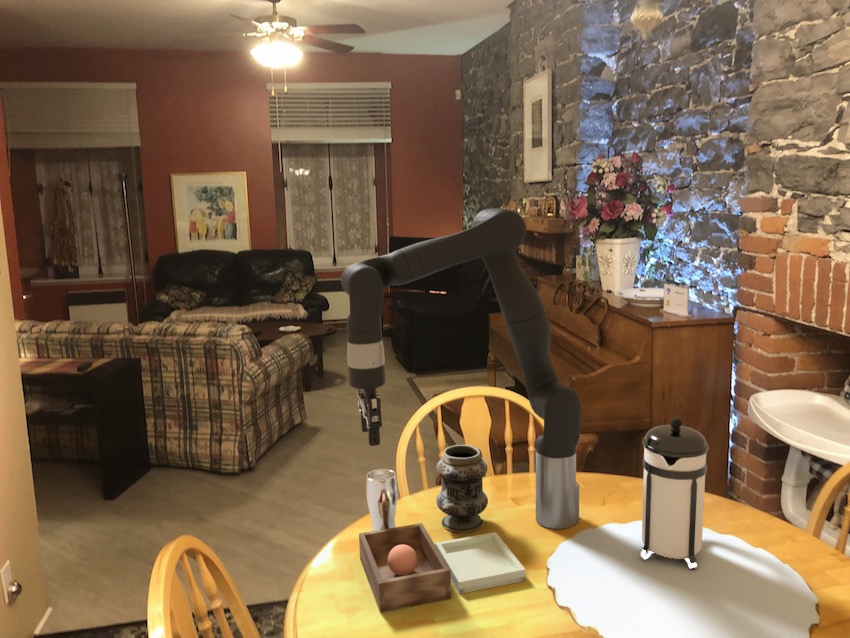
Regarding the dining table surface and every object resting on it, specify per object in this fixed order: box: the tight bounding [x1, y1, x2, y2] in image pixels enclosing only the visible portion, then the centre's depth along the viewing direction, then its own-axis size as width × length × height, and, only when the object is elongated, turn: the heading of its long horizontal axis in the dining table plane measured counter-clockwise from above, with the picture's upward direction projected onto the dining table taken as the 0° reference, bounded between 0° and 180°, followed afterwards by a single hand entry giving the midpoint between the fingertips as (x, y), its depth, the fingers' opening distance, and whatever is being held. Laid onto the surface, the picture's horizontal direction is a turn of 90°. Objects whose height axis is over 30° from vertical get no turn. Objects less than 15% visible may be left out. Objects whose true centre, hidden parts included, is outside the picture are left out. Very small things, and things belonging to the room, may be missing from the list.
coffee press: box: [641, 417, 710, 563], centre depth 146 cm, size 17×16×30 cm
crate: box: [358, 522, 452, 614], centre depth 141 cm, size 14×20×6 cm
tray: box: [434, 531, 526, 594], centre depth 144 cm, size 14×16×2 cm
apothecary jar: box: [435, 444, 489, 534], centre depth 162 cm, size 12×12×18 cm
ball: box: [388, 544, 417, 576], centre depth 141 cm, size 6×6×6 cm
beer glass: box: [365, 468, 398, 532], centre depth 157 cm, size 7×7×15 cm
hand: (370, 437), depth 144 cm, fingers open, 8 cm apart
